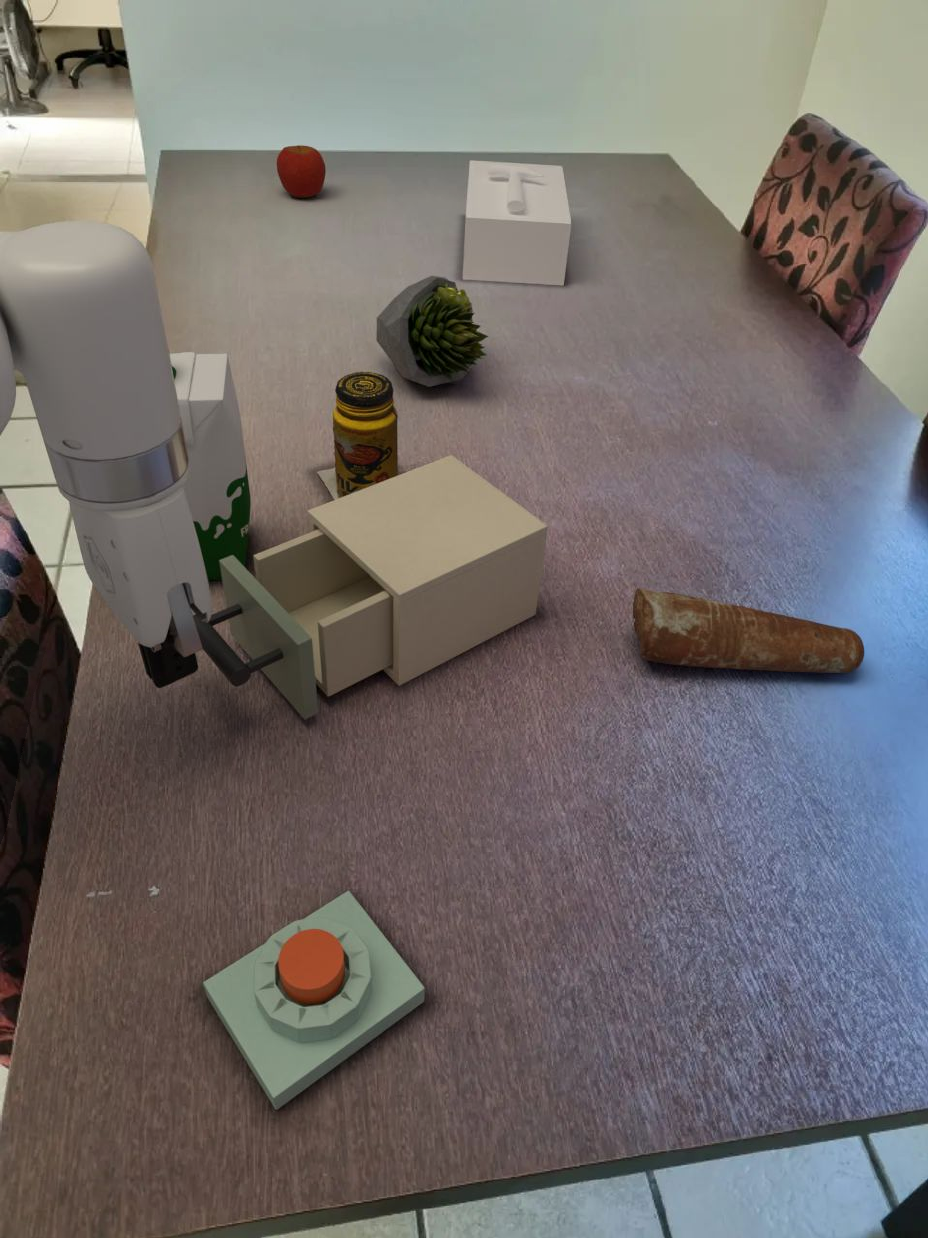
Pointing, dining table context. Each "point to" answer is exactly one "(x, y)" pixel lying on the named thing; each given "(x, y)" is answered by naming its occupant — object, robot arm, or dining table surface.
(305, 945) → the button
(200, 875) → the dining table surface
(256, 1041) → the block
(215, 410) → the milk carton
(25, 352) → the robot arm
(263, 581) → the drawer
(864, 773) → the dining table surface
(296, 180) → the apple
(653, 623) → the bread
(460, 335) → the potted plant
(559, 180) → the white embossed block
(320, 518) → the cabinet
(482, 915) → the dining table surface
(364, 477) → the condiment
